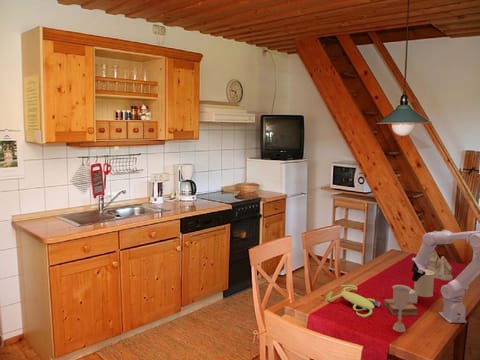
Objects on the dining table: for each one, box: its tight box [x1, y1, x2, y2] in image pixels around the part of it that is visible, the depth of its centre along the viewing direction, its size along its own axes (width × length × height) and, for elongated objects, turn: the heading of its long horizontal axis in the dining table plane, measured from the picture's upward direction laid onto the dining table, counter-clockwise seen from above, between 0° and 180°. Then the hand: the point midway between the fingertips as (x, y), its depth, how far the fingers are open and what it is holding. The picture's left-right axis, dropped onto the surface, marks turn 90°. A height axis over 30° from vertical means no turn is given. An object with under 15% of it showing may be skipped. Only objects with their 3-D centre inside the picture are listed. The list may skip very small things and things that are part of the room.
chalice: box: [392, 284, 412, 333], centre depth 178 cm, size 7×7×18 cm
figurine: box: [324, 284, 382, 318], centre depth 203 cm, size 18×27×6 cm
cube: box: [409, 288, 418, 304], centre depth 207 cm, size 5×5×5 cm
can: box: [413, 269, 435, 298], centre depth 216 cm, size 9×9×12 cm
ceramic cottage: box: [425, 251, 454, 281], centre depth 244 cm, size 16×16×15 cm
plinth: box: [383, 298, 418, 316], centre depth 197 cm, size 11×11×3 cm
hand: (414, 276), depth 208 cm, fingers open, 7 cm apart
